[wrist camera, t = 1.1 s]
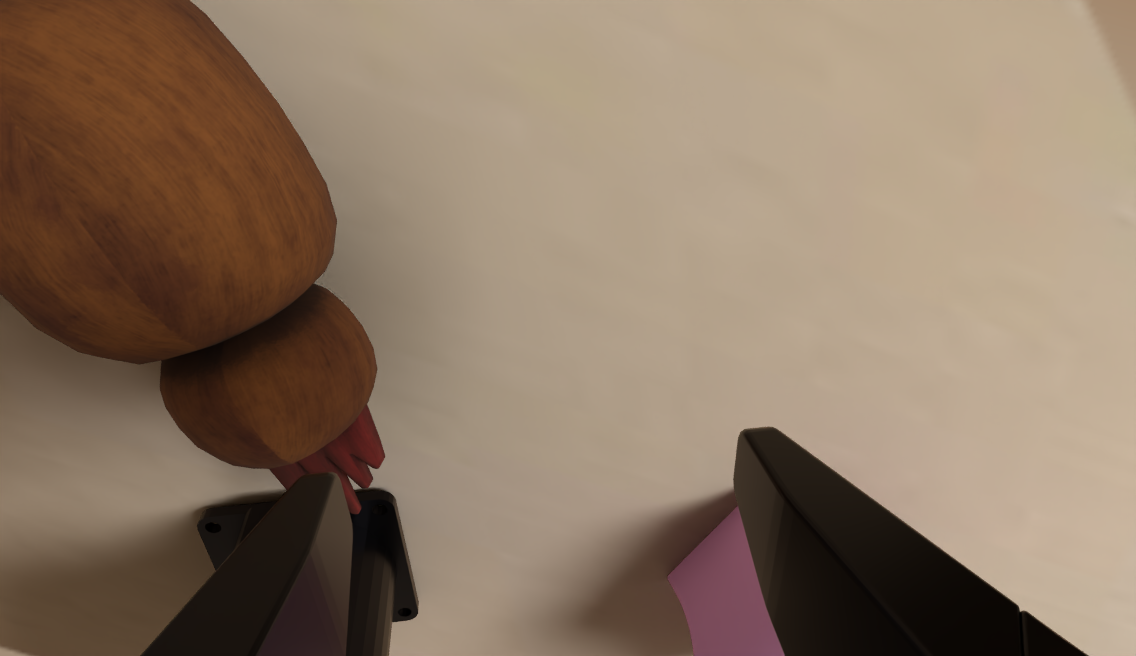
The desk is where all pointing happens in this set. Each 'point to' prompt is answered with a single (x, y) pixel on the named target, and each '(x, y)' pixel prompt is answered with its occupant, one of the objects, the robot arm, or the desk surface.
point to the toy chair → (724, 596)
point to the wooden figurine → (179, 231)
